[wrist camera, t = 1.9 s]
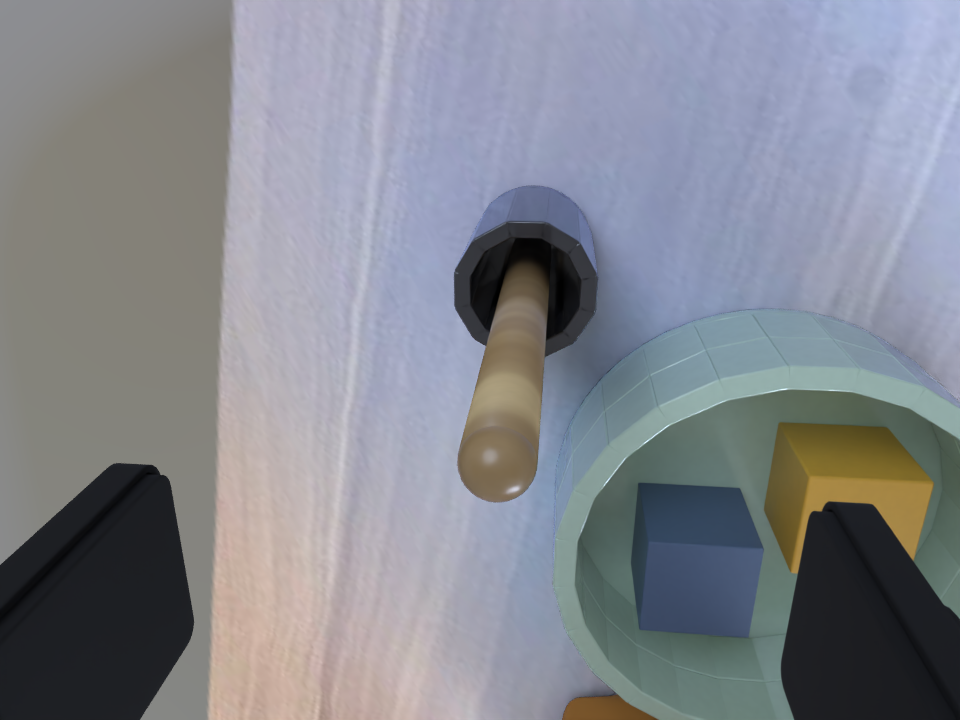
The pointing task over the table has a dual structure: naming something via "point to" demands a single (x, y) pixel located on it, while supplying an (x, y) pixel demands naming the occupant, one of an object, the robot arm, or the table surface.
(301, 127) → the table surface
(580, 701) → the coffee package
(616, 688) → the bowl
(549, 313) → the holder
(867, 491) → the block
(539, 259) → the stick
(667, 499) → the block
